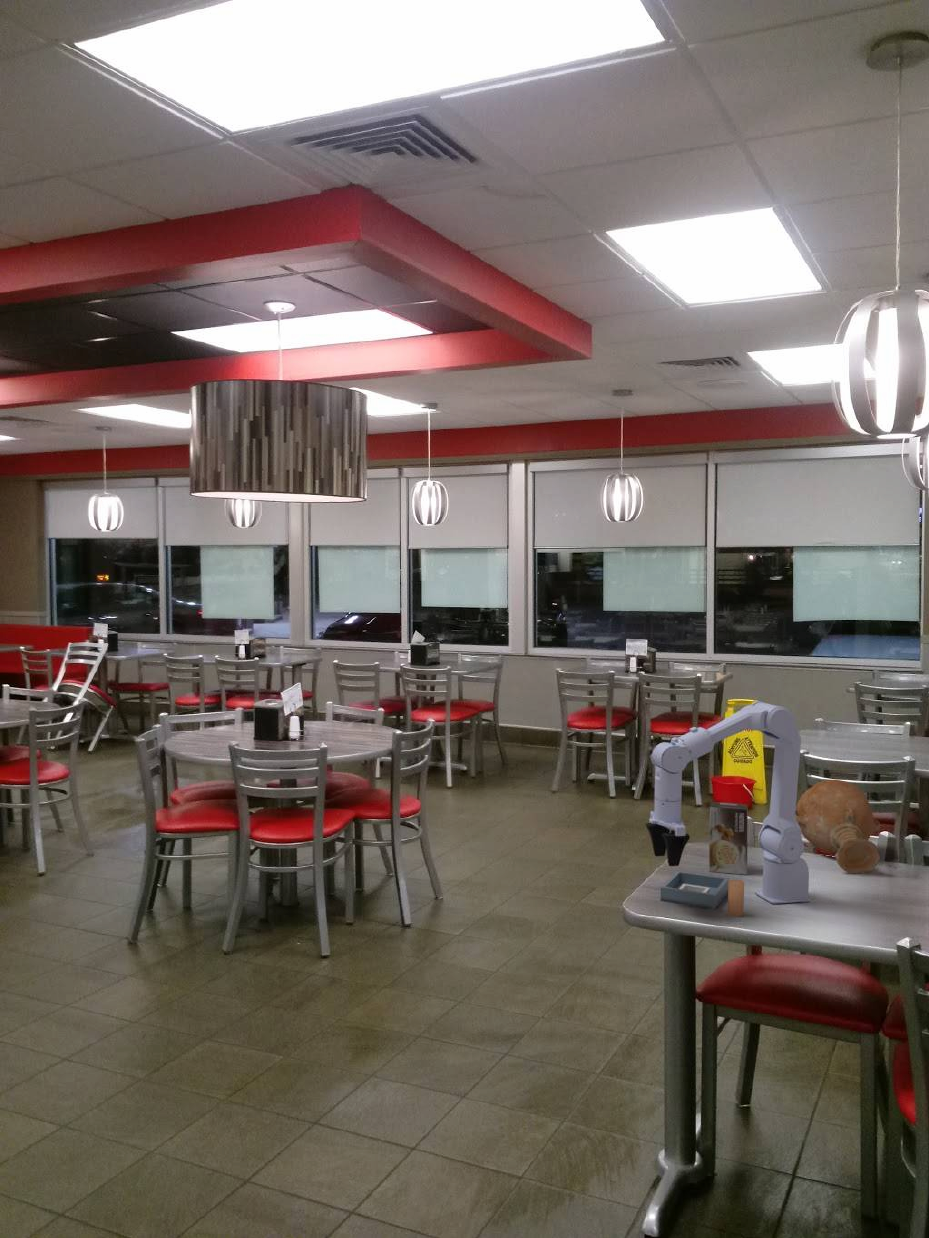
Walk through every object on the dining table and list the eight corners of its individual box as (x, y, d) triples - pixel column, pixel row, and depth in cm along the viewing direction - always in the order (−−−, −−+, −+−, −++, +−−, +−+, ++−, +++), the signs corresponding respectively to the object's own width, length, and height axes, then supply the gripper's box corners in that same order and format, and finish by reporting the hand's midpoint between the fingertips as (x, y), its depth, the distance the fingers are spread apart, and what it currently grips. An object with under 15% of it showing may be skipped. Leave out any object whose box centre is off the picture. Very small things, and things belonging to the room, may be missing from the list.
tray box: (677, 883, 241) (677, 870, 241) (728, 891, 235) (729, 878, 235) (660, 900, 228) (660, 887, 228) (714, 909, 223) (715, 895, 223)
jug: (877, 801, 277) (921, 843, 248) (830, 853, 280) (868, 901, 251) (820, 757, 276) (857, 794, 246) (774, 810, 279) (805, 853, 249)
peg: (738, 911, 222) (739, 879, 221) (746, 916, 219) (746, 883, 218) (725, 912, 221) (725, 880, 221) (732, 917, 218) (733, 884, 218)
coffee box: (747, 868, 254) (749, 803, 253) (746, 875, 248) (748, 809, 247) (709, 864, 257) (711, 800, 256) (707, 871, 251) (709, 806, 250)
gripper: (638, 792, 230) (636, 852, 230) (663, 807, 215) (662, 871, 216) (667, 791, 231) (666, 850, 232) (695, 805, 217) (693, 869, 218)
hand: (666, 860), depth 224 cm, fingers open, 7 cm apart
